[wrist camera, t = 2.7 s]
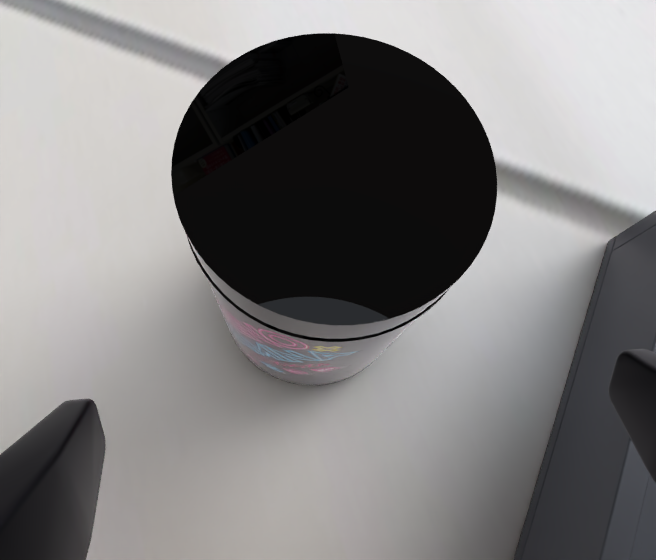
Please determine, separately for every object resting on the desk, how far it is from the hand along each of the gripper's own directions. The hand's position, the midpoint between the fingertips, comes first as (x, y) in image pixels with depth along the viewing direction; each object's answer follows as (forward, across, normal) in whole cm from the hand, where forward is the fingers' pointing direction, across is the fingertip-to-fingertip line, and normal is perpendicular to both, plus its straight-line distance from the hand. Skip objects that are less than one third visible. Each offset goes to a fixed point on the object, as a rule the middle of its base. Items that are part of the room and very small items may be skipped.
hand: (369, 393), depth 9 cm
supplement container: (+11, 0, +5) cm, 12 cm away
